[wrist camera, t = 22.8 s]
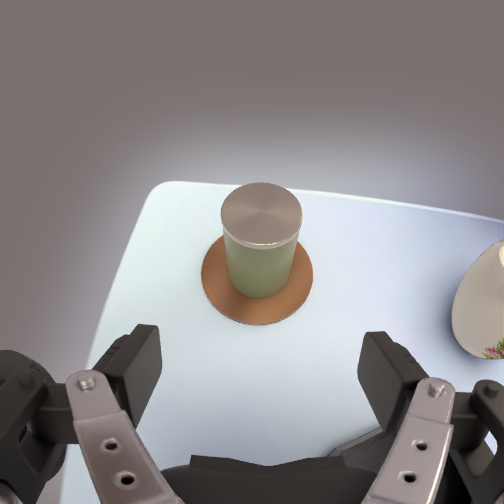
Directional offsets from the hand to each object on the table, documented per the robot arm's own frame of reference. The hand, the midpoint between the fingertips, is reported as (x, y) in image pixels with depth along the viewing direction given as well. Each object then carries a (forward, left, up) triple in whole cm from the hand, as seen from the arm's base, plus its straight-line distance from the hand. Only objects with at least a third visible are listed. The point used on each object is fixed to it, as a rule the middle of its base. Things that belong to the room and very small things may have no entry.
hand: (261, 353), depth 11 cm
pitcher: (+24, +10, -16) cm, 30 cm away
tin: (-2, +12, -15) cm, 19 cm away
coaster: (-2, +12, -16) cm, 20 cm away
